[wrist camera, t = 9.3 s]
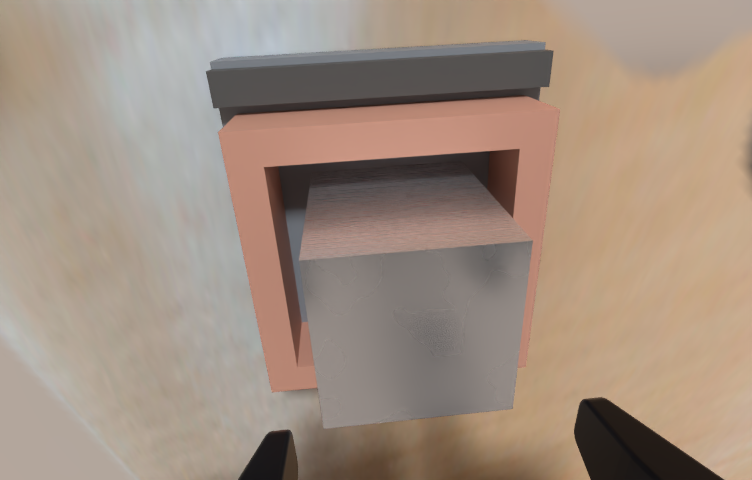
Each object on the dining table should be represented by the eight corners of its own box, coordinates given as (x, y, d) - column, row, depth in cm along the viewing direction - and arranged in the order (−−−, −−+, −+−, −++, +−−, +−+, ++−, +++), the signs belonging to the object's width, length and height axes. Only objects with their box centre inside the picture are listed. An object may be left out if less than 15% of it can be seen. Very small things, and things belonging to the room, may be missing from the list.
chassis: (499, 329, 20) (534, 396, 17) (276, 350, 20) (264, 424, 16) (526, 40, 15) (587, 47, 11) (221, 57, 14) (184, 70, 11)
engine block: (456, 286, 17) (512, 408, 12) (326, 299, 17) (323, 428, 12) (461, 161, 15) (532, 240, 10) (311, 172, 15) (298, 260, 9)
